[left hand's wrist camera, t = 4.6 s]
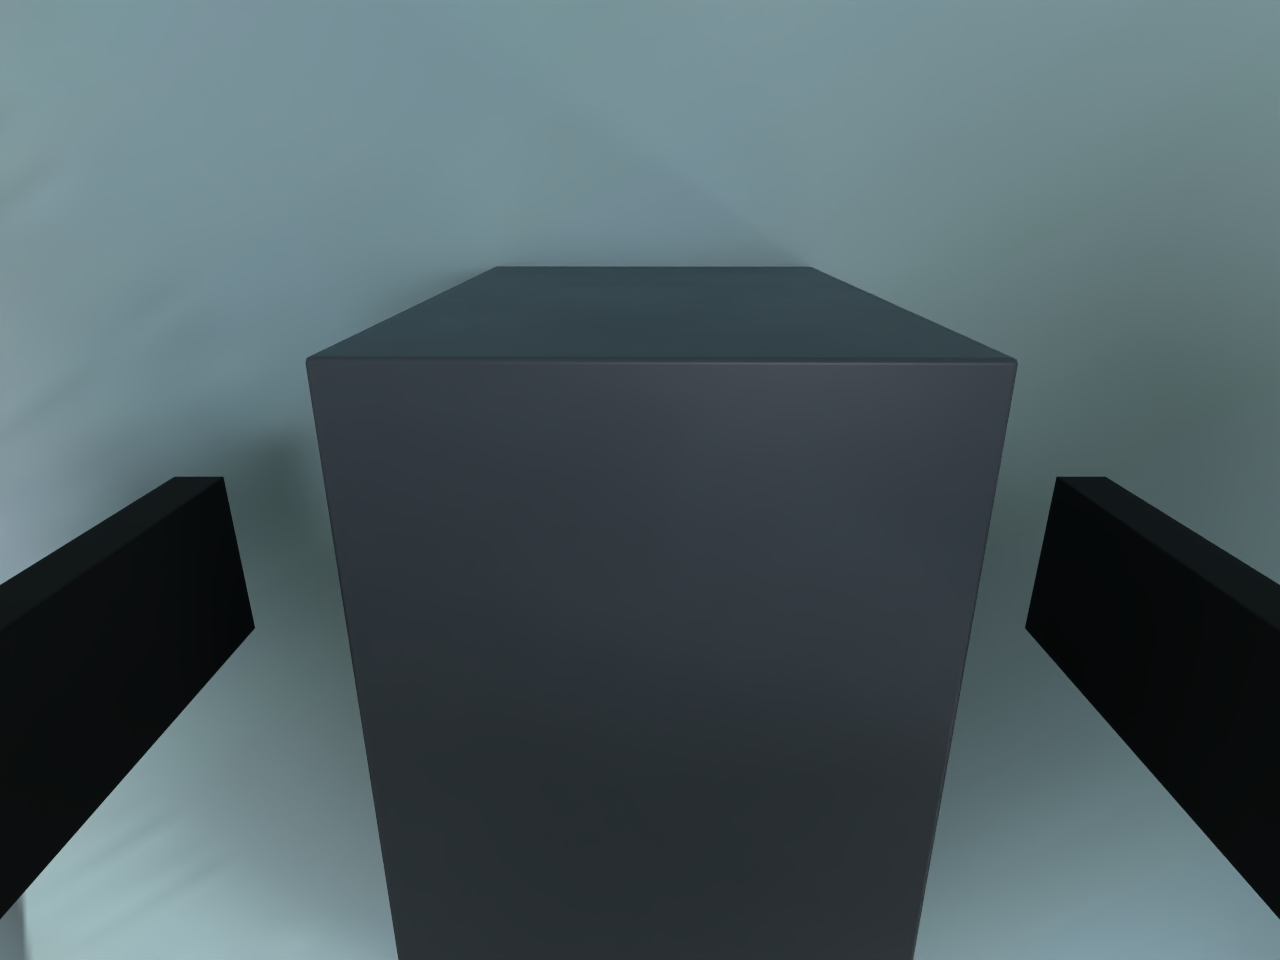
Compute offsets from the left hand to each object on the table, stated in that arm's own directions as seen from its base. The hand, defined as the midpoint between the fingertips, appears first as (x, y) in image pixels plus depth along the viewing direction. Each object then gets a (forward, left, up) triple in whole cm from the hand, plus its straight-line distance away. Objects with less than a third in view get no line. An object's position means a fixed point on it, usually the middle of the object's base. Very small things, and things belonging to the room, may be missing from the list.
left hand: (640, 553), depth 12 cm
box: (+6, +4, -4) cm, 8 cm away
